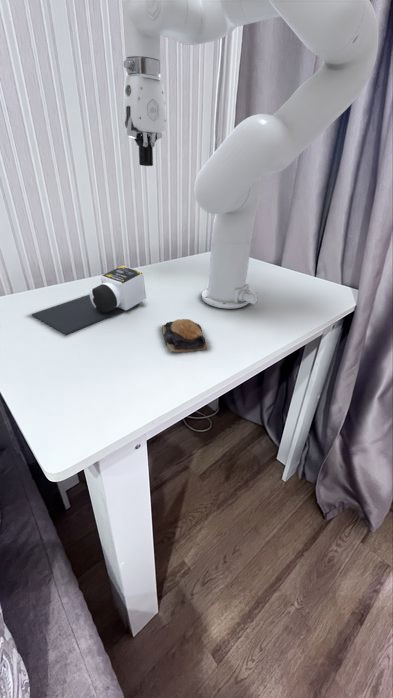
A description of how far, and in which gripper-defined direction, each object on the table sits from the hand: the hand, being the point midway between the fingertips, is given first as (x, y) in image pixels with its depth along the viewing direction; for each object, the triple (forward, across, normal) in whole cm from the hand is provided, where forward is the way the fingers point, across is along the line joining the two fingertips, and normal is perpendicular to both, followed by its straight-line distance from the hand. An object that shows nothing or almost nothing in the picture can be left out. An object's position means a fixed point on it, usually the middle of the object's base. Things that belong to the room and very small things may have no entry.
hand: (146, 165), depth 83 cm
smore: (+29, -21, -31) cm, 48 cm away
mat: (+29, -26, -6) cm, 40 cm away
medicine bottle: (+24, -14, -10) cm, 30 cm away
